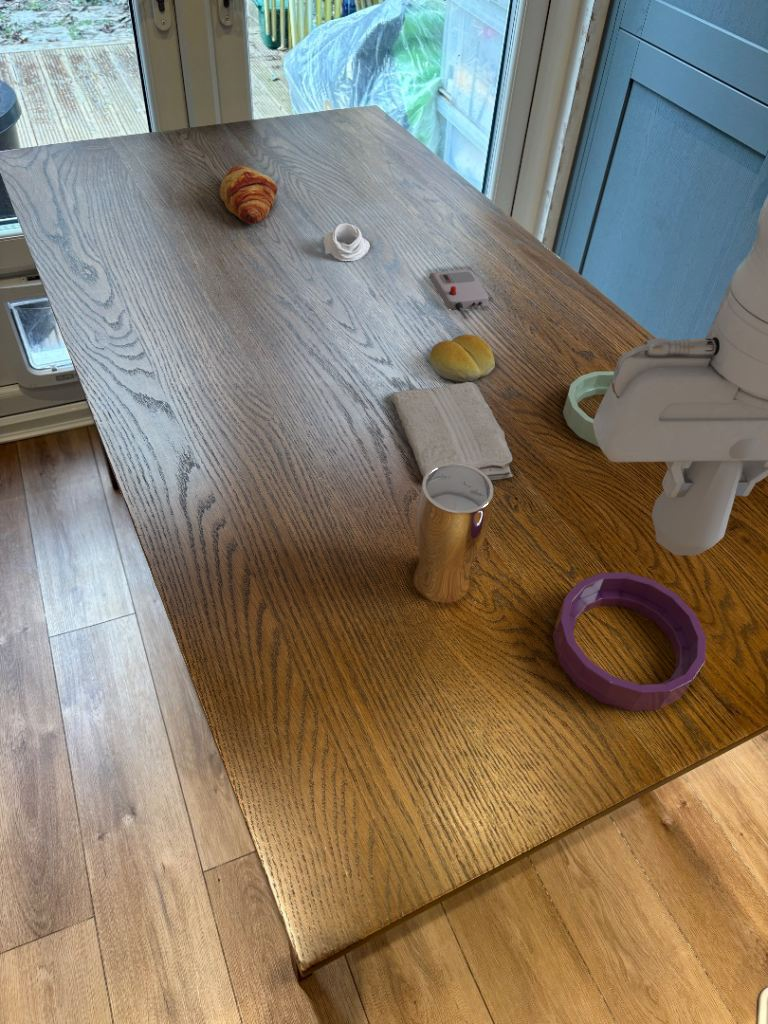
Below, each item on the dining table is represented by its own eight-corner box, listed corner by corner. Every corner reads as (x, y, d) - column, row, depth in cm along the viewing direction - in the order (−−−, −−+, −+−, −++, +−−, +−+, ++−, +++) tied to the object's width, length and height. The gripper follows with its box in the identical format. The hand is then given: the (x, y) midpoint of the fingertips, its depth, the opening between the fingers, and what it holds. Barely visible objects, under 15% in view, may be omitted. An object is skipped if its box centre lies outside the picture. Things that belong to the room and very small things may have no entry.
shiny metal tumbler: (420, 553, 82) (434, 452, 71) (480, 573, 81) (504, 473, 70) (398, 600, 78) (409, 500, 67) (461, 622, 76) (484, 523, 65)
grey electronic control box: (463, 268, 125) (465, 252, 123) (497, 320, 115) (500, 303, 113) (425, 272, 124) (427, 255, 122) (456, 324, 114) (459, 307, 112)
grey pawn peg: (723, 566, 60) (796, 446, 51) (653, 564, 60) (714, 443, 51) (702, 513, 64) (766, 392, 55) (636, 511, 64) (689, 389, 55)
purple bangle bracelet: (662, 596, 80) (677, 570, 77) (709, 713, 71) (728, 688, 68) (538, 600, 79) (547, 574, 76) (570, 719, 70) (582, 694, 66)
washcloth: (424, 497, 88) (427, 479, 86) (385, 403, 100) (387, 384, 98) (518, 483, 91) (523, 464, 89) (469, 392, 102) (472, 374, 100)
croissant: (229, 198, 146) (205, 162, 140) (273, 171, 144) (251, 133, 138) (241, 249, 131) (215, 211, 126) (291, 220, 130) (267, 180, 124)
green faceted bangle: (640, 394, 104) (649, 371, 101) (670, 456, 96) (681, 432, 93) (552, 395, 103) (558, 371, 100) (574, 457, 95) (582, 433, 92)
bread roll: (418, 359, 107) (421, 335, 104) (470, 344, 110) (474, 320, 107) (450, 392, 102) (453, 367, 99) (503, 374, 106) (508, 351, 103)
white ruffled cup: (364, 246, 130) (366, 218, 127) (374, 262, 126) (376, 233, 122) (319, 247, 128) (320, 218, 125) (327, 263, 124) (328, 233, 120)
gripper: (641, 370, 45) (584, 524, 55) (957, 369, 47) (845, 518, 57) (612, 312, 49) (564, 464, 59) (902, 314, 51) (807, 461, 61)
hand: (703, 491), depth 58 cm, fingers closed on grey pawn peg, 3 cm apart
